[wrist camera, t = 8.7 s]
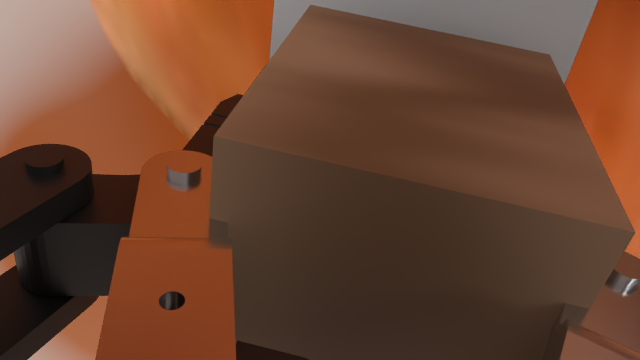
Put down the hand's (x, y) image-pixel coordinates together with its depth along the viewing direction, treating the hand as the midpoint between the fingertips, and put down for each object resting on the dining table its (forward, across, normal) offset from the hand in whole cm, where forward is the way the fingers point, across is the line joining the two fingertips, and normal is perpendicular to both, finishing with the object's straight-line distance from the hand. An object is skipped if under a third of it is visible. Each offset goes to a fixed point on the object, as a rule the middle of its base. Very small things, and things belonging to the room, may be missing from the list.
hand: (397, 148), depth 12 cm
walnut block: (+1, 0, 0) cm, 1 cm away
